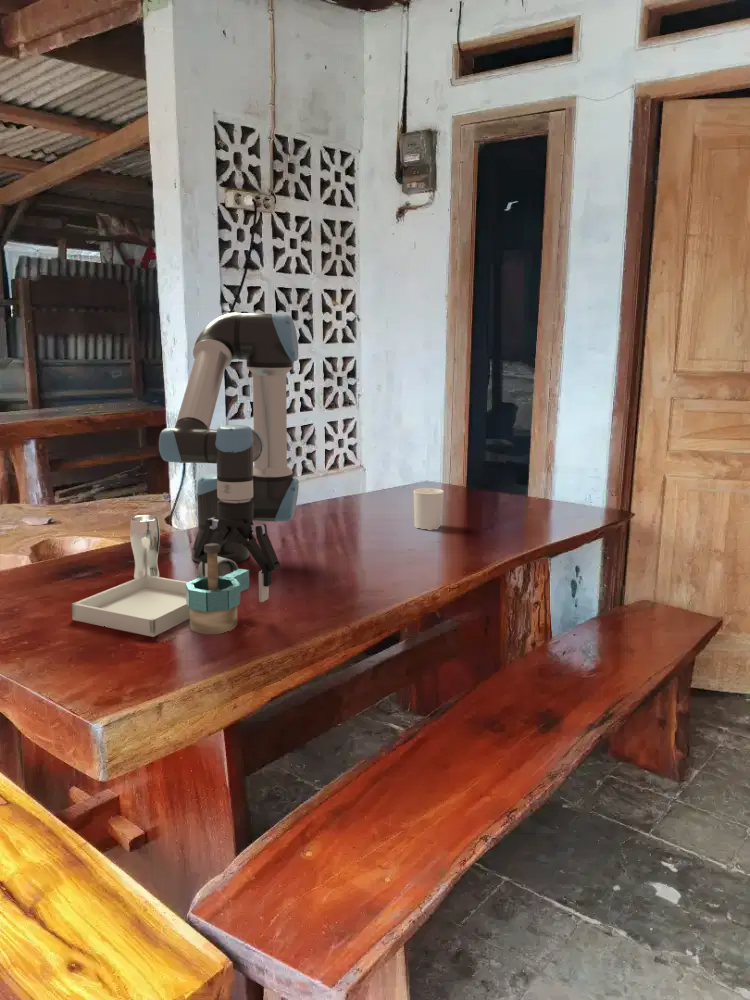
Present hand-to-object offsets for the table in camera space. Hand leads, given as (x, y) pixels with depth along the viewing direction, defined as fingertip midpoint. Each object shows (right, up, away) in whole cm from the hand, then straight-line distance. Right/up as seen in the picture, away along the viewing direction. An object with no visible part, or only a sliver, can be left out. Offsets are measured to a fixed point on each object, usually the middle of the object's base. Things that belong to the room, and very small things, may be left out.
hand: (236, 595), depth 166 cm
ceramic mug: (-9, -1, +17) cm, 19 cm away
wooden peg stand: (-4, -5, -7) cm, 9 cm away
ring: (-2, 0, -5) cm, 6 cm away
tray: (-19, -3, +1) cm, 19 cm away
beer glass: (-27, +1, +24) cm, 36 cm away
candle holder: (+47, +12, +82) cm, 95 cm away
